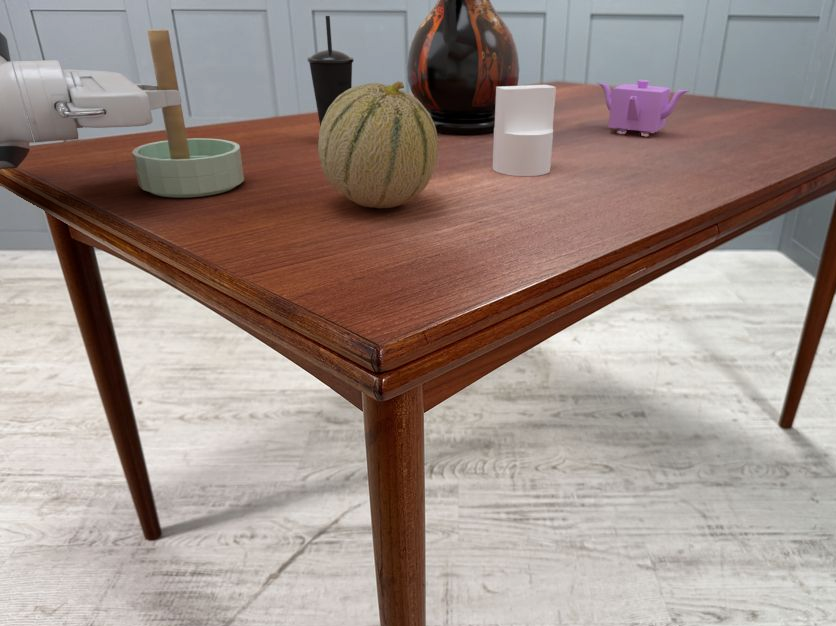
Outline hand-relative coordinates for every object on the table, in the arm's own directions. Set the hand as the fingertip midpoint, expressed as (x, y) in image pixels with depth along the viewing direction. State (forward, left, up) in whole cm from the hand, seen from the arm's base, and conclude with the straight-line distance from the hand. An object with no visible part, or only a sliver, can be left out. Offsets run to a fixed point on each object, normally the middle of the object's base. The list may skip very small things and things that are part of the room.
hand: (176, 94), depth 85 cm
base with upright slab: (+48, 0, -12) cm, 50 cm away
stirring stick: (-1, 0, -8) cm, 9 cm away
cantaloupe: (+23, -14, -12) cm, 30 cm away
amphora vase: (+49, +34, -12) cm, 61 cm away
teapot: (+81, +22, -12) cm, 85 cm away
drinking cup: (+23, +26, -12) cm, 37 cm away
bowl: (0, +1, -12) cm, 12 cm away
